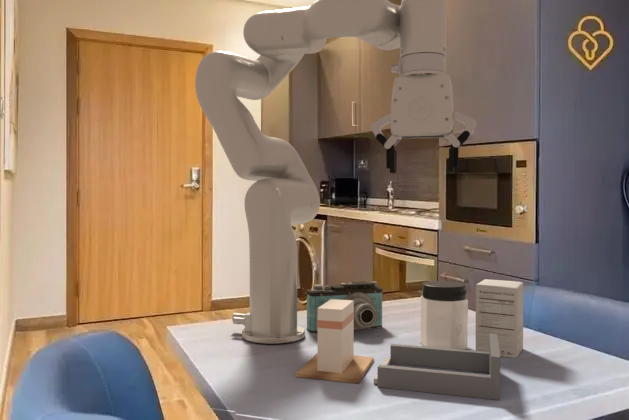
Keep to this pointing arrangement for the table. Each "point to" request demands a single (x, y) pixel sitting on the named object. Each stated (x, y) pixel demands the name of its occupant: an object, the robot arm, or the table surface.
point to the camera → (361, 292)
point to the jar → (444, 315)
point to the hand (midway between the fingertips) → (421, 172)
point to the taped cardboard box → (335, 335)
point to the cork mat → (350, 374)
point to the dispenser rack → (443, 379)
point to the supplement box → (500, 315)
